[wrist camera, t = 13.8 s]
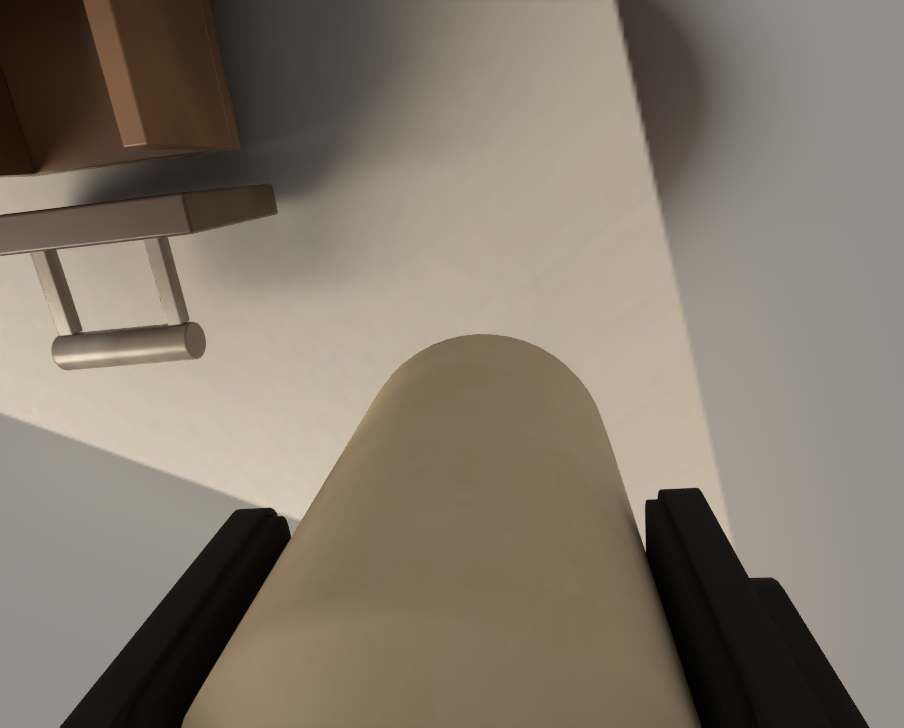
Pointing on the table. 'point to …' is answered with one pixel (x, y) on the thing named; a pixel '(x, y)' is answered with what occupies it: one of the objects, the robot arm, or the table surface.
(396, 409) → the candle
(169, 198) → the drawer
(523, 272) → the table surface
